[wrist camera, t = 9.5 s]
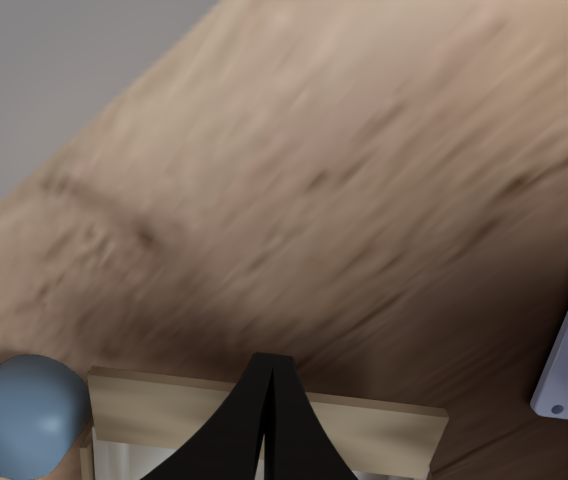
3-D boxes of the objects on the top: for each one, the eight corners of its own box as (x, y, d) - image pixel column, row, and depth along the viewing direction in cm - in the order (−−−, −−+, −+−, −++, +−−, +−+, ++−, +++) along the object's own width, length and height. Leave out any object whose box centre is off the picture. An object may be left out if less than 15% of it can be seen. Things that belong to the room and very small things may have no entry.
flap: (420, 468, 14) (445, 408, 13) (422, 479, 14) (449, 418, 13) (101, 430, 14) (92, 366, 13) (96, 439, 14) (86, 374, 13)
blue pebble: (71, 348, 17) (35, 385, 14) (106, 430, 18) (79, 475, 16) (-25, 360, 17) (-74, 397, 15) (17, 439, 19) (-22, 484, 17)
